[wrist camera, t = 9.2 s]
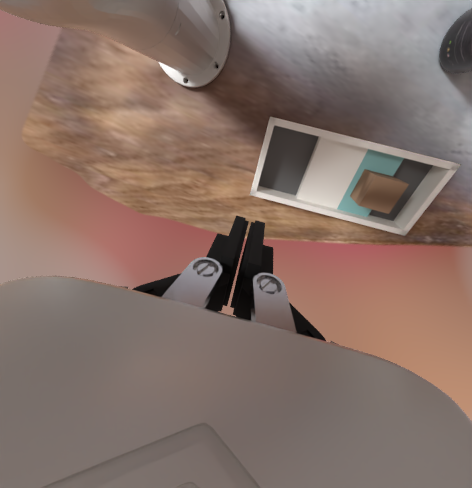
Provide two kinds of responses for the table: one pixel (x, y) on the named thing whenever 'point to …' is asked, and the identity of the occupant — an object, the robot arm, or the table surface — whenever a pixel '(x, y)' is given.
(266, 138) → the tray
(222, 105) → the table surface
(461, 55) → the supplement bottle
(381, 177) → the walnut block
